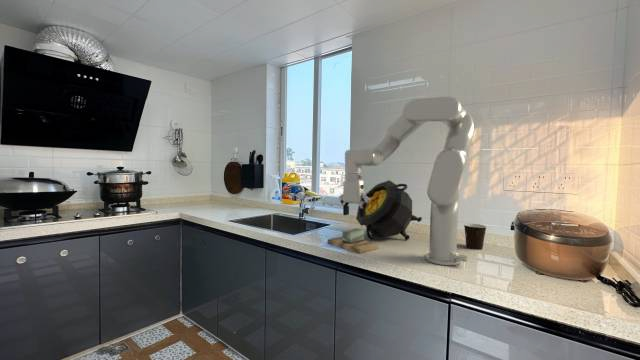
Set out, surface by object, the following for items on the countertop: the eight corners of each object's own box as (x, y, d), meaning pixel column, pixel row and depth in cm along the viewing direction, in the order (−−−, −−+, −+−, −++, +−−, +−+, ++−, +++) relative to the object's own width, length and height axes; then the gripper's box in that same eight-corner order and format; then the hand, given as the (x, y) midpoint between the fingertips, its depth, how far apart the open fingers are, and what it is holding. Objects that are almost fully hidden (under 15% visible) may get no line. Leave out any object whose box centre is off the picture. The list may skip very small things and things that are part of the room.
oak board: (378, 248, 124) (378, 243, 124) (360, 253, 116) (360, 248, 116) (345, 239, 139) (345, 235, 139) (327, 243, 131) (327, 239, 131)
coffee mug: (467, 244, 133) (468, 222, 132) (488, 247, 127) (488, 225, 126) (458, 248, 125) (458, 226, 124) (479, 253, 118) (480, 229, 118)
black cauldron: (432, 235, 128) (398, 204, 120) (383, 258, 143) (350, 232, 135) (423, 195, 150) (394, 166, 142) (381, 218, 165) (353, 194, 156)
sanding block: (364, 240, 128) (364, 230, 128) (350, 244, 123) (350, 232, 122) (355, 238, 132) (356, 228, 132) (342, 241, 126) (342, 230, 126)
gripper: (374, 177, 122) (374, 217, 122) (345, 177, 135) (345, 213, 135) (363, 178, 117) (363, 219, 117) (334, 177, 130) (334, 214, 130)
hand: (354, 216), depth 126 cm, fingers open, 9 cm apart
